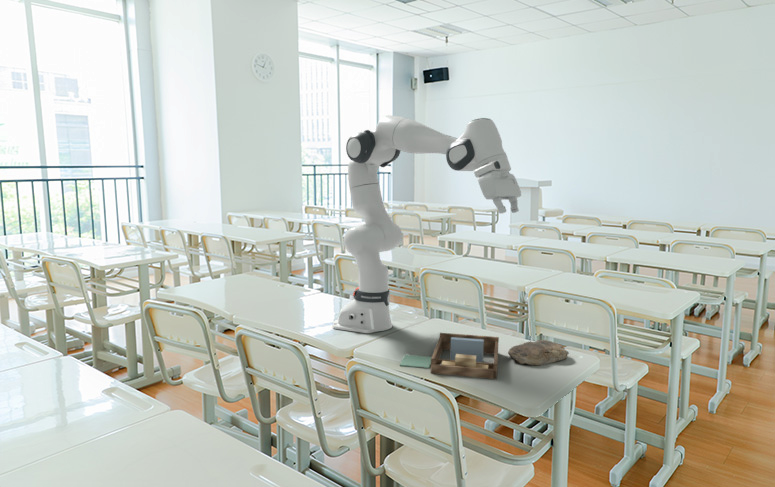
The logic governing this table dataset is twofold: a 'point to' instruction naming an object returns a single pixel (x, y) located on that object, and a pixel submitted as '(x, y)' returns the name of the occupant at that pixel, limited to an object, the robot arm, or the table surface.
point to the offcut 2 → (481, 366)
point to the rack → (445, 344)
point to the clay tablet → (538, 352)
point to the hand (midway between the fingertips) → (509, 212)
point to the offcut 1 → (448, 363)
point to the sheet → (467, 347)
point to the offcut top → (465, 360)
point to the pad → (416, 361)
